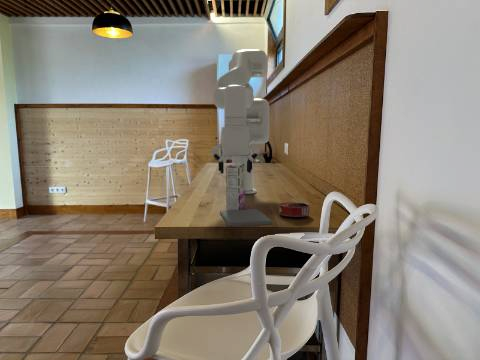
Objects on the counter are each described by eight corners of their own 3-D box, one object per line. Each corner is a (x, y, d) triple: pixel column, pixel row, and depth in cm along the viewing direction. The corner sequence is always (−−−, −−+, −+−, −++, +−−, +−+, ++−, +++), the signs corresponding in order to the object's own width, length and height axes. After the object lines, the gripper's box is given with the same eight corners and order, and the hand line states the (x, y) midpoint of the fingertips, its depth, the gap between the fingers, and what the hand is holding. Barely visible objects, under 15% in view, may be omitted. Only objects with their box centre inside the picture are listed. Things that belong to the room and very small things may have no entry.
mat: (220, 213, 112) (220, 210, 112) (257, 211, 114) (257, 208, 114) (228, 226, 96) (228, 222, 96) (271, 223, 99) (271, 220, 99)
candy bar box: (231, 206, 124) (232, 163, 122) (245, 207, 123) (245, 163, 121) (225, 213, 113) (225, 166, 111) (239, 214, 112) (240, 166, 110)
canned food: (286, 224, 114) (290, 197, 117) (313, 225, 108) (317, 196, 111) (269, 213, 106) (274, 184, 109) (297, 213, 100) (302, 182, 103)
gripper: (257, 123, 118) (256, 170, 121) (208, 123, 115) (209, 171, 117) (262, 123, 111) (262, 173, 114) (211, 122, 107) (212, 175, 110)
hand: (235, 172), depth 116 cm, fingers open, 9 cm apart
